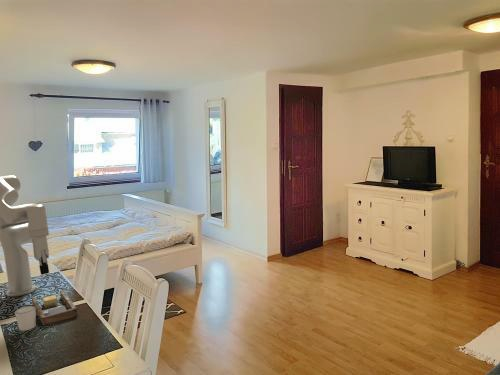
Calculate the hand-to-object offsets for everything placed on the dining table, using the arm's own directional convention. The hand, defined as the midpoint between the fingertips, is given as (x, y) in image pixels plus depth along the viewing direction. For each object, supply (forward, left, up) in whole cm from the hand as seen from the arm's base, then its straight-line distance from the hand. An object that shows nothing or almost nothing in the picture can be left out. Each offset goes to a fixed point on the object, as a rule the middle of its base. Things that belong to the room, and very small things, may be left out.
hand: (44, 273), depth 178 cm
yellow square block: (+7, 0, -12) cm, 14 cm away
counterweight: (+23, 0, -12) cm, 26 cm away
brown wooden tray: (+15, 0, -12) cm, 19 cm away
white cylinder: (+25, -11, -12) cm, 30 cm away
